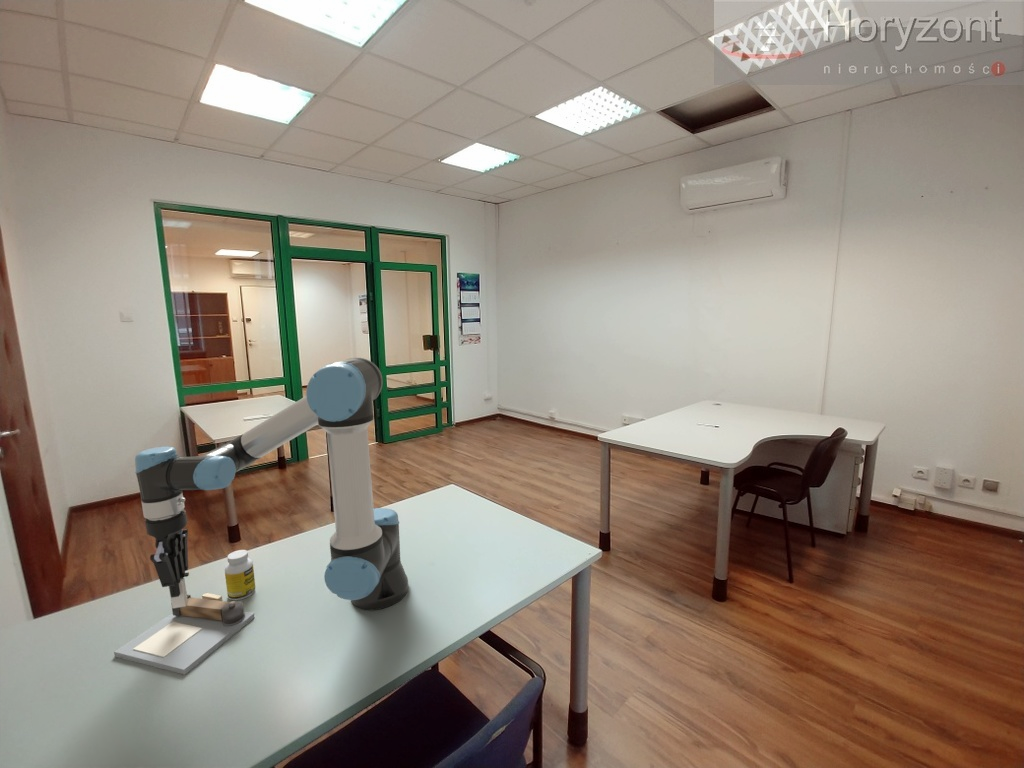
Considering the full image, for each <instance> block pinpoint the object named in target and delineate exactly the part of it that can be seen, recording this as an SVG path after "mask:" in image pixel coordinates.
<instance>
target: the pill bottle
mask: <svg viewBox="0 0 1024 768" xmlns="http://www.w3.org/2000/svg"><path fill="white" fill-rule="evenodd" d="M253 562H254V561H253V560H252V559H251V558H249V551H248V550H246V549H239V550H238V549H237V550H235V551H232V552H230V553H229V554H227V564H226V565H225V566H224V575H225V577H224V579H225V584H226V594H227V597H228V599H229V600H231V601H241V600H244V599H246V598H248V597H250V596H251V595H253V594H254V593H255V591H256V578H255V572H254V571H255V570H254V563H253Z"/></svg>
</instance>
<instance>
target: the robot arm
mask: <svg viewBox="0 0 1024 768" xmlns="http://www.w3.org/2000/svg"><path fill="white" fill-rule="evenodd" d="M383 385H384V384H383V376H382V372H381V371H380V369H379V367H378V366H377V365H376V364H375V362H373V361H371V360H370V359H369V360H368V359H367V358H363V357H351V358H347V359H345V360H341V361H335V362H331V363H328V364H326V365H324V366H323V367H321V368H320V369H318V370H317V371H315V373H314V374H313V375H311V377H310V379H309V380H308V383H307V386H306V392H305V393H306V394H305V396H303V397H302V398H300V399H299V400H297V401H295V402H293V403H291V404H290V405H288V406H287V407H286V408H284V409H282V410H280V411H279V412H277V413H275V414H273V415H272V416H271V417H269V418H267V419H266V420H264V421H262V422H260V423H259V424H257V425H256V426H254V427H252V428H251V429H249V430H247V431H246V432H244V433H243V434H241V435H239V436H237V437H236V438H233V439H232V440H231V441H228V442H227V443H225V444H223V445H221V446H218V447H216V448H214V449H212V450H210V451H207V452H205V453H203V454H200V455H197V456H196V455H195V456H178V455H179V454H178V453H177V450H176V448H175V447H172V446H158V447H153V448H152V447H151V448H148V449H144V450H142V451H140V452H138V453H137V454H136V455H135V457H134V464H135V465H134V466H135V474H136V478H137V483H138V487H139V493H140V500H141V501H140V503H141V506H142V514H143V518H144V519H145V520H144V525H145V531H146V534H147V535H148V536H149V537H153V538H155V542H154V543H155V546H154V547H155V548H156V551H155V553H154V554H151V555H150V556H149V560H150V561H151V562H152V563H153V565H154V568H155V571H156V573H157V577H158V579H159V582H160V585H161V587H162V588H166V587H168V590H169V596H170V602H171V603H172V605H171V610H172V609H173V608H179V607H185V606H186V605H187V603H188V598H187V595H188V593H187V587H186V586H187V585H186V580H185V578H186V577H188V576H189V575H190V573H189V572H186V571H188V570H189V555H188V554H189V553H188V549H189V548H188V536H189V535H188V534H189V530H188V528H186V526H187V524H188V518H187V513H186V512H187V511H186V510H185V507H186V506H185V502H186V497H184V495H183V491H214V490H220V489H225V488H227V487H229V486H230V485H231V483H232V481H233V480H234V479H235V477H236V473H237V472H239V471H241V470H243V469H245V468H247V467H248V466H251V465H253V464H254V463H255V462H256V461H258V460H260V459H261V458H262V457H264V456H266V455H268V454H269V453H271V452H273V451H275V450H277V449H278V448H280V447H282V446H283V445H285V444H286V443H288V442H290V441H292V440H293V439H295V438H297V437H298V436H300V435H302V434H303V433H305V432H307V431H309V430H310V429H312V428H314V427H316V426H317V425H318V427H319V428H321V429H323V430H324V431H325V432H326V436H327V439H326V440H327V448H328V459H329V460H328V461H329V471H330V472H329V473H330V481H331V492H332V493H331V494H332V504H333V515H334V525H335V531H334V533H333V534H332V535H331V536H330V538H329V550H330V562H328V564H327V566H326V568H325V572H324V577H323V578H324V583H325V586H326V587H327V589H328V590H329V591H330V592H331V594H334V595H336V596H337V597H338V598H340V599H343V600H349V601H351V603H352V604H353V605H354V606H355V607H356V608H358V609H362V610H368V611H370V610H372V611H375V610H381V609H387V608H388V607H391V606H393V605H395V604H397V603H398V602H400V601H402V599H403V598H405V597H406V595H407V594H408V591H409V579H408V576H407V574H406V572H405V568H404V566H403V564H402V561H401V544H400V521H399V515H398V512H397V511H395V510H394V509H392V508H387V507H377V508H376V507H375V508H374V497H373V495H374V494H373V484H372V483H373V482H372V471H371V458H370V445H369V443H370V442H369V432H368V431H369V429H368V427H369V426H370V425H371V424H372V423H373V422H374V420H375V419H374V418H375V417H374V416H375V415H374V404H373V401H374V400H376V399H377V398H378V397H379V395H380V393H381V391H382V389H383ZM184 528H185V529H184Z"/></svg>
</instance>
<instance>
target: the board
mask: <svg viewBox="0 0 1024 768" xmlns="http://www.w3.org/2000/svg"><path fill="white" fill-rule="evenodd" d="M201 597H202V598H201V599H209V600H217V601H223V596H222V595H219V594H214V593H209V592H205V593H204V594H202V595H201ZM254 618H255V613H253V612H249V611H244V616H243V618H242V619H240V620H239V621H237V622H235V623H232V624H225V623H223V620H222V621H221V620H213V619H205V618H197V617H190V616H182V615H181V616H174V615H173V612H172V613H170V614H169V615H167V616H165V617H164V618H162V619H161V620H160V621H157V622H156V623H155V624H154V625H151V627H149V628H148V629H146V630H144V631H143V632H142V633H140V634H138V635H137V636H135V637H134V638H132V639H131V640H129V641H128V642H126V643H124V645H121V646H120V647H119V648H118V649H116V650H114V651H113V654H114V655H113V656H114V657H116V658H119V659H123V660H127V661H131V662H134V663H138V664H142V665H147V666H149V667H154V668H158V669H160V670H161V669H162V670H165V671H169V672H172V673H177V674H180V675H187V673H189V672H190V671H191V670H193V669H194V668H195V667H196V666H198V664H200V663H201V662H202V661H204V660H205V659H206V658H207V657H208V656H209V655H211V654H212V653H213V652H215V651H216V650H217V649H218V648H220V647H221V646H222V645H223V644H224V643H225V642H226V641H228V640H229V639H231V637H233V636H234V635H236V634H237V632H239V631H240V630H241V629H243V628H244V627H245V626H247V625H248V624H249V623H250V622H251V621H253V620H254Z"/></svg>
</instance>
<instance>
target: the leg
mask: <svg viewBox="0 0 1024 768" xmlns="http://www.w3.org/2000/svg"><path fill="white" fill-rule="evenodd" d="M187 598H188V603H187V605H186V606H185V607H179V608H173V609H172V608H171V610H172V613H173V615H174V616H181V615H182V616H190V617H197V618H205V619H213V620H221V621H222V620H223V623H225V624H232V623H235V622H237V621H239V620H240V619H242V618H243V616H244V612H245V611H244V610H245V609H244V603H243V601H241V600H231V601H226V600H225V601H224V600H222V601H217V600H209V599H202V598H199V597H191V594H187ZM171 606H172V603H171Z"/></svg>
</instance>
